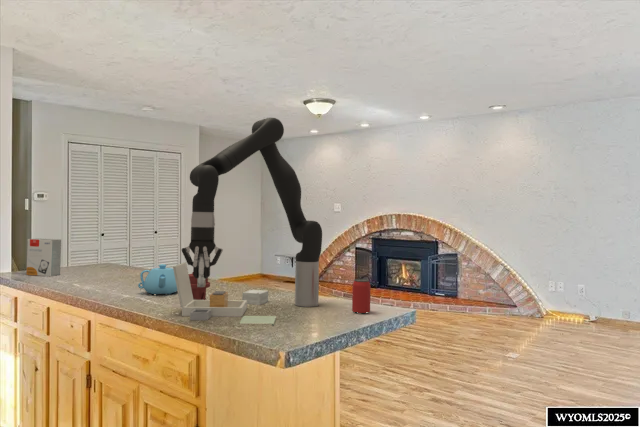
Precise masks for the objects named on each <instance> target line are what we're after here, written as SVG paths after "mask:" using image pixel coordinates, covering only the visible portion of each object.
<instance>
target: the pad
mask: <svg viewBox="0 0 640 427" xmlns="http://www.w3.org/2000/svg"><path fill="white" fill-rule="evenodd" d="M276 319H277V316H276V315H242V317H241V319H240V321H239V324H240V325H241V324H243V325H244V324H248V325H249V324H251V325H252V324H254V325H255V324H256V325H257V324H258V325H259V324H260V325H262V324H263V325H265V324H267V325H271V326H275V322H276Z"/></svg>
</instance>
